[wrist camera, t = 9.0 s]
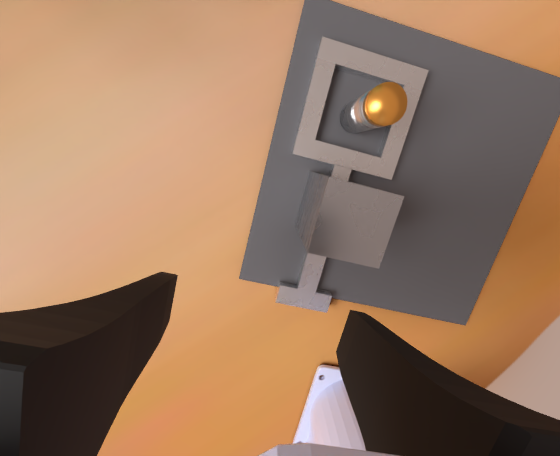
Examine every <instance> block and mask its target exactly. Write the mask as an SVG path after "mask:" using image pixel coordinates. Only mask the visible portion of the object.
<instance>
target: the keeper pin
mask: <svg viewBox="0 0 560 456" xmlns="http://www.w3.org/2000/svg"><path fill="white" fill-rule="evenodd" d="M406 109H407V95H406V92H405V91H404V89H403V88H402V87H401V86H400V85H399V84H397V83H395V82H384V83H381V84H379V85H378V86H376V87H374V88H373V89H371V90H369V91H368V92H366V93H365V94H363V95H361V96H360V97H358V98H356V99H355V100H353V101H351V102H350V103H348V104H347V105H345V106H344V108H343V109H342V111H341V113H340V124H341V126H342V128H343V129H344V130H345V131H346V132H348V133H353V134H354V133H359V132H363V131H367V130H372V129H376V128H380V127H384V126H388V125H392V124H394V123H396V122H398V121H399V120H400V119H401V118H402V117H403V115H404V113H405V111H406Z"/></svg>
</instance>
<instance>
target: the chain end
mask: <svg viewBox="0 0 560 456" xmlns="http://www.w3.org/2000/svg"><path fill="white" fill-rule="evenodd" d="M334 68H335V69H338V70H342V71H345V72H348V73H351V74H355V75H358V76H361V77H364V78H368V79H371V80H374V81H378V82H381V83H384V82H395V83H397V84H399V85H400V86H401V87H402V88H403V89H404V91H405V92H406V95H407V109H406V111H405V113H404V115H403V117H402V118H401V119H400V120H399V121H398V122H396V123H394V124H392V125H388V126H386V129H385V132H384V135H383V139H382V142H381V145H380V148H379V151H378V154H377V157H376V156H372V155H369V154H365V153H361V152H358V151H354V150H350V149H347V148H343V147H339V146H336V145H332V144H328V143H325V142H321V141H317V140H315V139H316V135H317V131H318V128H319V124H320V120H321V117H322V113H323V109H324V105H325V102H326V98H327V94H328V91H329V87H330V83H331V79H332V76H333V72H334ZM428 71H429V70H426V69H423V68H420V67H417V66H414V65H411V64H407V63H404V62H401V61H398V60H395V59H392V58H389V57H385V56H382V55H379V54H376V53H373V52H370V51H367V50H364V49H360V48H357V47H354V46H351V45H348V44H345V43H342V42H338V41H335V40H332V39H329V38H326V37H323V36H322V38H321V40H320V43H319V47H318V51H317V55H316V59H315V63H314V67H313V71H312V75H311V79H310V83H309V86H308V90H307V94H306V98H305V102H304V106H303V110H302V114H301V118H300V122H299V126H298V130H297V134H296V138H295V142H294V146H293V150H292V154H294V155H298V156H301V157H305V158H309V159H313V160H317V161H320V162H324V163H328V164H332V166H331V169H330V173H329V176H327V175H323V174H319V173H315V172H311V171H309V174H308V178H307V182H306V185H305V189H304V193H303V196H302V200H301V204H300V207H299V211H298V215H297V218H296V222H295V228H296V230H297V232H298V234H299V236H300V238H301V240H302V242H303V245H304V247H305V249H306V251H305V255H304V258H303V262H302V265H301V269H300V272H299V276H298V279H297V283H296V284H293V283H288V282H283V281H279V285H278V289H277V292H276V296H275V301H276V303H281V304H286V305H291V306H296V307H301V308H306V309H311V310H316V311H321V312H326V313H327V311H328V308H329V305H330V301H331V298H332V295H331V293H330V291H326V290H322V289H317V286H318V283H319V280H320V277H321V273H322V270H323V267H324V263H325V260H326V257H328V258H333V259H337V260H342V261H346V262H351V263H355V264H360V265H364V266H369V267H373V268H378V269H379V267H380V264H381V261H382V259H383V256H384V253H385V250H386V247H387V244H388V242H389V239H390V236H391V233H392V230H393V227H394V224H395V222H396V219H397V216H398V213H399V210H400V207H401V205H402V202H403V199H404V196H401V195H398V194H394V193H390V192H387V191H383V190H380V189H376V188H373V187H369V186H365V185H362V184H358V183H354V182H350V181H348V180H349V176H350V173H351V170H355V171H358V172H362V173H366V174H370V175H373V176H377V177H381V178H385V179H389V180H392V177H393V174H394V171H395V168H396V165H397V163H398V160H399V157H400V154H401V151H402V148H403V145H404V142H405V139H406V136H407V133H408V130H409V127H410V124H411V121H412V118H413V115H414V112H415V109H416V106H417V103H418V100H419V97H420V94H421V91H422V88H423V85H424V83H425V80H426V77H427V74H428Z"/></svg>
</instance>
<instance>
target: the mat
mask: <svg viewBox="0 0 560 456" xmlns="http://www.w3.org/2000/svg"><path fill="white" fill-rule="evenodd" d="M322 36H323V37H326V38H329V39H332V40H335V41H338V42H342V43H345V44H348V45H351V46H354V47H357V48H360V49H364V50H367V51H370V52H373V53H376V54H379V55H382V56H385V57H389V58H392V59H395V60H398V61H401V62H404V63H407V64H411V65H414V66H417V67H420V68H423V69H426V70H429V71H428V74H427V77H426V80H425V83H424V85H423V88H422V91H421V94H420V97H419V100H418V103H417V106H416V109H415V112H414V115H413V118H412V121H411V124H410V127H409V130H408V133H407V136H406V139H405V142H404V145H403V148H402V151H401V154H400V157H399V160H398V163H397V165H396V168H395V171H394V174H393V177H392V180H389V179H385V178H381V177H377V176H373V175H370V174H366V173H362V172H358V171H355V170H351V173H350V176H349V180H348V181H350V182H354V183H358V184H362V185H365V186H369V187H373V188H376V189H380V190H383V191H387V192H390V193H394V194H398V195H401V196H404V199H403V202H402V205H401V207H400V210H399V213H398V216H397V219H396V222H395V224H394V227H393V230H392V233H391V236H390V239H389V242H388V244H387V247H386V250H385V253H384V256H383V259H382V261H381V264H380V267H379V269H378V268H373V267H369V266H364V265H360V264H355V263H351V262H346V261H342V260H337V259H333V258H328V257H326V260H325V263H324V267H323V270H322V273H321V277H320V280H319V283H318V286H317V289H322V290H326V291H330V293H331V295H332V298H335V299H340V300H345V301H349V302H354V303H359V304H364V305H369V306H374V307H379V308H383V309H388V310H393V311H398V312H403V313H408V314H413V315H417V316H422V317H427V318H432V319H437V320H442V321H446V322H451V323H456V324H461V325H466V323H467V321H468V319H469V316H470V314H471V312H472V310H473V307H474V305H475V303H476V301H477V299H478V296H479V294H480V292H481V290H482V287H483V285H484V283H485V281H486V278H487V276H488V274H489V272H490V269H491V267H492V265H493V263H494V261H495V258H496V256H497V254H498V252H499V249H500V247H501V245H502V243H503V240H504V238H505V236H506V234H507V231H508V229H509V227H510V225H511V222H512V220H513V218H514V216H515V214H516V211H517V209H518V207H519V205H520V202H521V200H522V198H523V196H524V193H525V191H526V189H527V187H528V184H529V182H530V180H531V178H532V176H533V173H534V171H535V169H536V167H537V164H538V162H539V160H540V158H541V155H542V153H543V151H544V149H545V146H546V144H547V142H548V140H549V138H550V135H551V133H552V131H553V129H554V126H555V124H556V122H557V120H558V117H559V115H560V78H559V77H556V76H553V75H551V74H548V73H545V72H542V71H539V70H536V69H533V68H530V67H527V66H524V65H521V64H518V63H515V62H512V61H509V60H506V59H503V58H500V57H497V56H494V55H491V54H488V53H485V52H482V51H479V50H476V49H473V48H470V47H467V46H464V45H461V44H458V43H455V42H452V41H449V40H446V39H443V38H440V37H437V36H434V35H431V34H428V33H425V32H422V31H420V30H417V29H414V28H411V27H408V26H405V25H402V24H399V23H396V22H393V21H390V20H387V19H384V18H381V17H378V16H375V15H372V14H369V13H366V12H363V11H360V10H357V9H354V8H351V7H348V6H345V5H342V4H339V3H336V2H333V1H330V0H305V1H304V6H303V10H302V14H301V18H300V22H299V27H298V31H297V35H296V39H295V44H294V48H293V52H292V56H291V61H290V65H289V69H288V73H287V78H286V82H285V86H284V90H283V94H282V99H281V103H280V107H279V111H278V116H277V120H276V124H275V128H274V133H273V137H272V141H271V145H270V149H269V154H268V158H267V162H266V166H265V171H264V175H263V179H262V183H261V188H260V192H259V196H258V200H257V205H256V209H255V213H254V217H253V221H252V226H251V230H250V234H249V238H248V243H247V247H246V251H245V255H244V260H243V264H242V268H241V272H240V277H239V279H243V280H247V281H252V282H257V283H262V284H267V285H272V286H277V287H278V285H279V281H283V282H288V283H293V284H296V283H297V279H298V276H299V272H300V269H301V265H302V262H303V258H304V255H305V251H306V249H305V247H304V245H303V242H302V240H301V238H300V236H299V234H298V232H297V230H296V228H295V222H296V218H297V215H298V211H299V207H300V204H301V200H302V196H303V193H304V189H305V185H306V182H307V178H308V174H309V171H311V172H315V173H319V174H323V175H327V176H329V173H330V169H331V166H332V164H328V163H324V162H320V161H317V160H313V159H309V158H305V157H301V156H298V155H294V154H292V150H293V146H294V142H295V138H296V134H297V130H298V126H299V122H300V118H301V114H302V110H303V106H304V102H305V98H306V94H307V90H308V86H309V83H310V79H311V75H312V71H313V67H314V63H315V59H316V55H317V51H318V47H319V43H320V40H321V38H322ZM379 84H381V82H378V81H374V80H371V79H368V78H364V77H361V76H358V75H355V74H351V73H348V72H345V71H342V70H338V69H335V68H334V72H333V76H332V79H331V83H330V87H329V91H328V94H327V98H326V102H325V105H324V109H323V113H322V117H321V120H320V124H319V128H318V131H317V135H316V139H315V140H317V141H321V142H325V143H328V144H332V145H336V146H339V147H343V148H347V149H350V150H354V151H358V152H361V153H365V154H369V155H372V156H376V157H377V154H378V151H379V148H380V145H381V142H382V139H383V135H384V132H385V129H386V126H384V127H380V128H376V129H372V130H367V131H363V132H359V133H354V134H353V133H348V132H346V131H345V130H344V129H343V128H342V126H341V124H340V113H341V111H342V109H343V108H344V106H345V105H347V104H348V103H350V102H351V101H353V100H355V99H356V98H358V97H360V96H361V95H363V94H365V93H366V92H368V91H369V90H371V89H373V88H374V87H376V86H378V85H379Z"/></svg>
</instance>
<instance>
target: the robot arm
mask: <svg viewBox="0 0 560 456" xmlns="http://www.w3.org/2000/svg"><path fill="white" fill-rule="evenodd" d="M177 276H178V275H175V274H170V273H165V272H159V273H156V274H154V275H151V276H149V277H146V278H144V279H141V280H139V281H136V282H134V283H131V284H129V285H126V286H123V287H121V288H118V289H115V290H112V291H109V292H106V293H103V294H100V295H97V296H93V297H90V298H86V299H82V300H78V301H74V302H69V303H64V304H59V305H53V306H47V307H42V308H36V309H30V310H22V311H14V312H4V313H0V456H97V454H98V452H99V450H100V448H101V446H102V444H103V442H104V439H105V437H106V435H107V433H108V431H109V429H110V427H111V425H112V423H113V421H114V419H115V417H116V415H117V413H118V411H119V409H120V407H121V405H122V403H123V402H124V400H125V398H126V396H127V395H128V393H129V391H130V390H131V388H132V386H133V385H134V383H135V382H136V380H137V378H138V377H139V375H140V374H141V372H142V370H143V369H144V367H145V366H146V364H147V362H148V361H149V359H150V357H151V356H152V354H153V353H154V351H155V349H156V348H157V346H158V344H159V343H160V340H161V338H162V336H163V334H164V332H165V329H166V327H167V325H168V323H169V319H170V314H171V308H172V303H173V298H174V292H175V287H176V281H177ZM336 353H337V359H338V364H339V367H335V366H329V365H320V366H318V368H317V370H316V373H315V376H314V379H313V382H312V385H311V389H310V392H309V395H308V398H307V401H306V404H305V407H304V410H303V413H302V416H301V419H300V422H299V425H298V428H297V431H296V434H295V437H294V440H293V443H292V444H280V445H277V446H275V447H273V448H271V449H269V450H267V451H265V452H264V453H262V454H260V455H258V456H560V420H557V419H555V418H552V417H549V416H547V415H544V414H541V413H539V412H536V411H533V410H531V409H528V408H526V407H524V406H521V405H519V404H517V403H515V402H512V401H510V400H507V399H505V398H503V397H501V396H499V395H497V394H495V393H492V392H490V391H488V390H486V389H484V388H482V387H480V386H478V385H476V384H474V383H472V382H470V381H468V380H466V379H465V378H463V377H461V376H459V375H457V374H455V373H454V372H452V371H450V370H449V369H447V368H445V367H444V366H442V365H440V364H438V363H437V362H435V361H434V360H432V359H430V358H429V357H427V356H426V355H424V354H423V353H421V352H420V351H419V350H417V349H416V348H414V347H413V346H411V345H410V344H408V343H407V342H406V341H404V340H403V339H401V338H400V337H399V336H397V335H396V334H395V333H393V332H392V331H391V330H389V329H388V328H386V327H385V326H384V325H382V324H381V323H380V322H378V321H377V320H375V319H374V318H372V317H371V316H369V315H367V314H365V313H363V312H358V311H353V310H350V312H349V315H348V318H347V321H346V324H345V327H344V330H343V333H342V336H341V339H340V342H339V345H338V348H337V351H336ZM320 375H323V376H322V377H319V376H320ZM299 441H300V442H299Z"/></svg>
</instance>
